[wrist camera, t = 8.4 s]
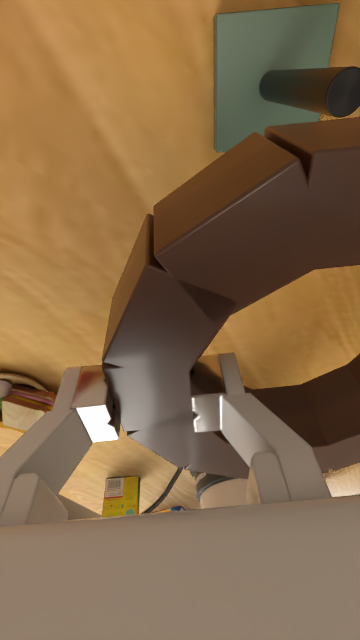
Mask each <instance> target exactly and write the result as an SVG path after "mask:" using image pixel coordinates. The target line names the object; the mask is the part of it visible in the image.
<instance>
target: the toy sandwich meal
mask: <svg viewBox="0 0 360 640" xmlns="http://www.w3.org/2000/svg"><path fill="white" fill-rule="evenodd" d="M55 400H56V395H55V394H54V393H53V392H47V390H46V389H45V388H44V387H43V386H42V385H41V384H39V383H38V382H36V381H35V380H33V379H30V378H28V377H26V376H22V375H18V374H13V373H0V427H1V428H9V429H13V430H17V431H20V432H22V433H26V432H27V431H28V430H29V429H30V428H31V427H32V426H33V425H34V424H35V423H36V422H37V421H38V420H39V419H40V418H41V417H42V416H43V415H44V414H45V413H46V412H47V411H52V409H53V406H54V403H55Z"/></svg>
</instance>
